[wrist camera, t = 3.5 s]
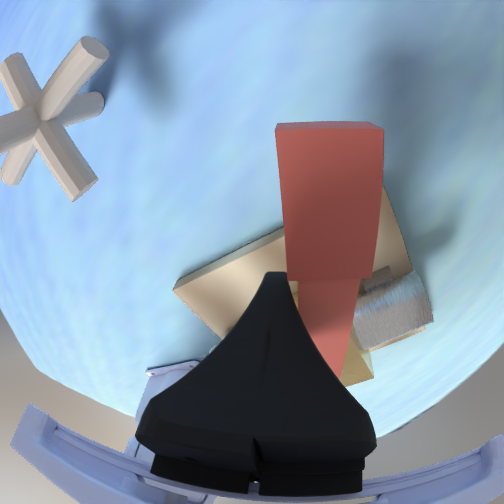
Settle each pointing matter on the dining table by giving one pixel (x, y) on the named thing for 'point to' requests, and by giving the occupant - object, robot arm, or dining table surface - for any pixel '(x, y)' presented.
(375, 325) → the ball valve
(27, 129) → the pipe connector
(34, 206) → the dining table surface
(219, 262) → the mounting board
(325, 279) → the lever
